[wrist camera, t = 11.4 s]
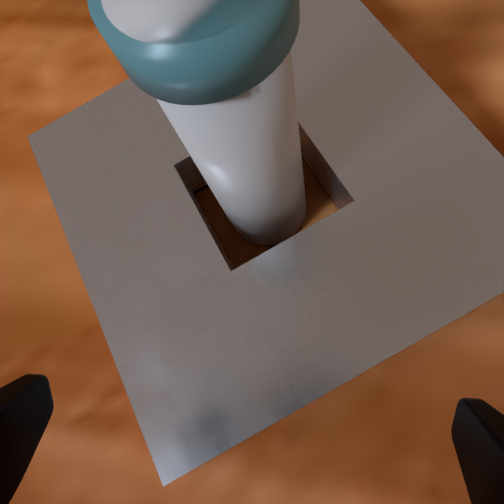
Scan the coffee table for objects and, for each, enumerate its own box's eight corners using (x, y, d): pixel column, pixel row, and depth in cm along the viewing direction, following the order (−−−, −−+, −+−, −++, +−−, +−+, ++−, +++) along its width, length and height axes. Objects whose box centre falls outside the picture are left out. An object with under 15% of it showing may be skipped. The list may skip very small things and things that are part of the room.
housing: (543, 266, 18) (584, 246, 15) (188, 468, 18) (163, 486, 15) (327, 13, 24) (327, -36, 21) (62, 165, 24) (27, 136, 21)
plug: (330, 195, 20) (340, -75, 8) (277, 268, 20) (203, 93, 8) (258, 154, 22) (174, -130, 10) (206, 220, 21) (47, 8, 9)
